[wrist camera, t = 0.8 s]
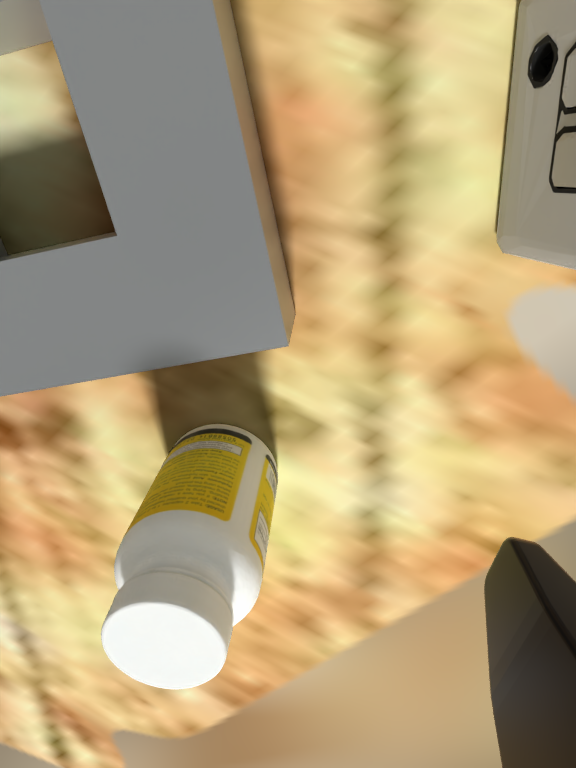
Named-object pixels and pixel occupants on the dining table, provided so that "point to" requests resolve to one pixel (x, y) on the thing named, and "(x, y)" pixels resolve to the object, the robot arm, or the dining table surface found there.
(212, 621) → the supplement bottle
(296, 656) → the dining table surface
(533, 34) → the electrical switch
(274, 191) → the dining table surface
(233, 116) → the socket block
